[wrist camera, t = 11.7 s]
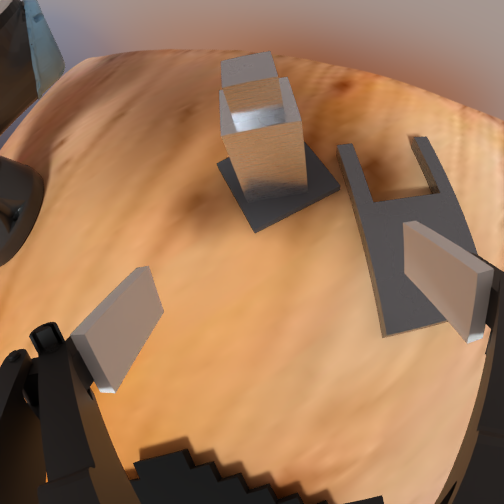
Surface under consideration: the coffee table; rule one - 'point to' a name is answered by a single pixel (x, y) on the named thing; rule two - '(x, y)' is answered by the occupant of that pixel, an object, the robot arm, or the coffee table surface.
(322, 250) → the coffee table surface
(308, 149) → the pad
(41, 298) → the coffee table surface
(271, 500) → the decorative item
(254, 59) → the stepped metal tower
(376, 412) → the coffee table surface
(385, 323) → the slotted plate
